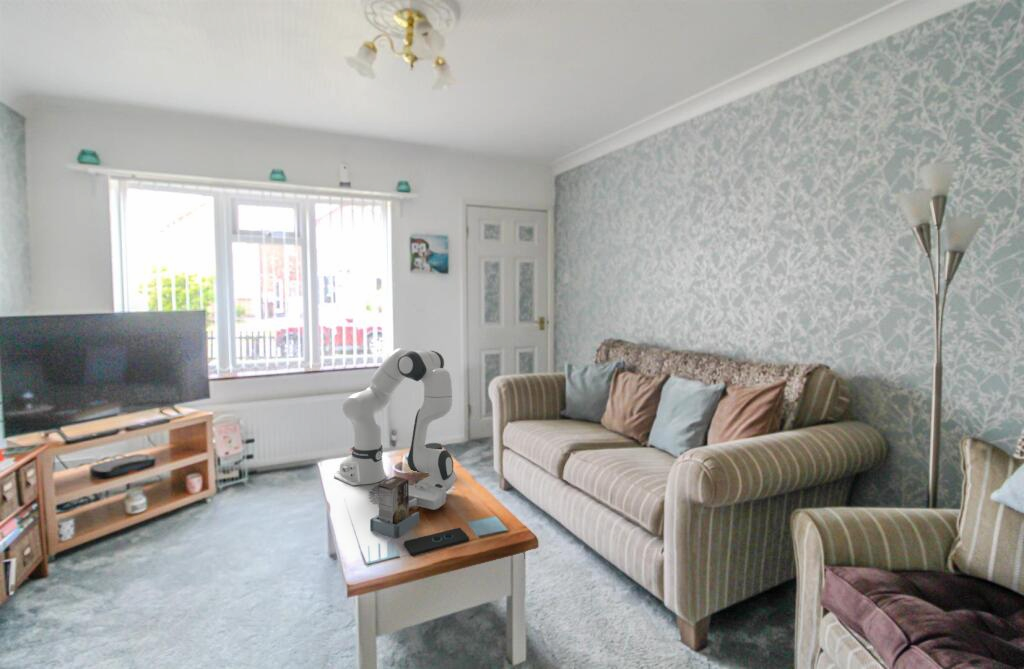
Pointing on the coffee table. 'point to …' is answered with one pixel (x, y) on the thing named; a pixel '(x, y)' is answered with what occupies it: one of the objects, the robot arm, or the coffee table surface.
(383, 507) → the coffee box
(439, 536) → the smart home device
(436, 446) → the jar
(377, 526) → the grey u-shaped channel
